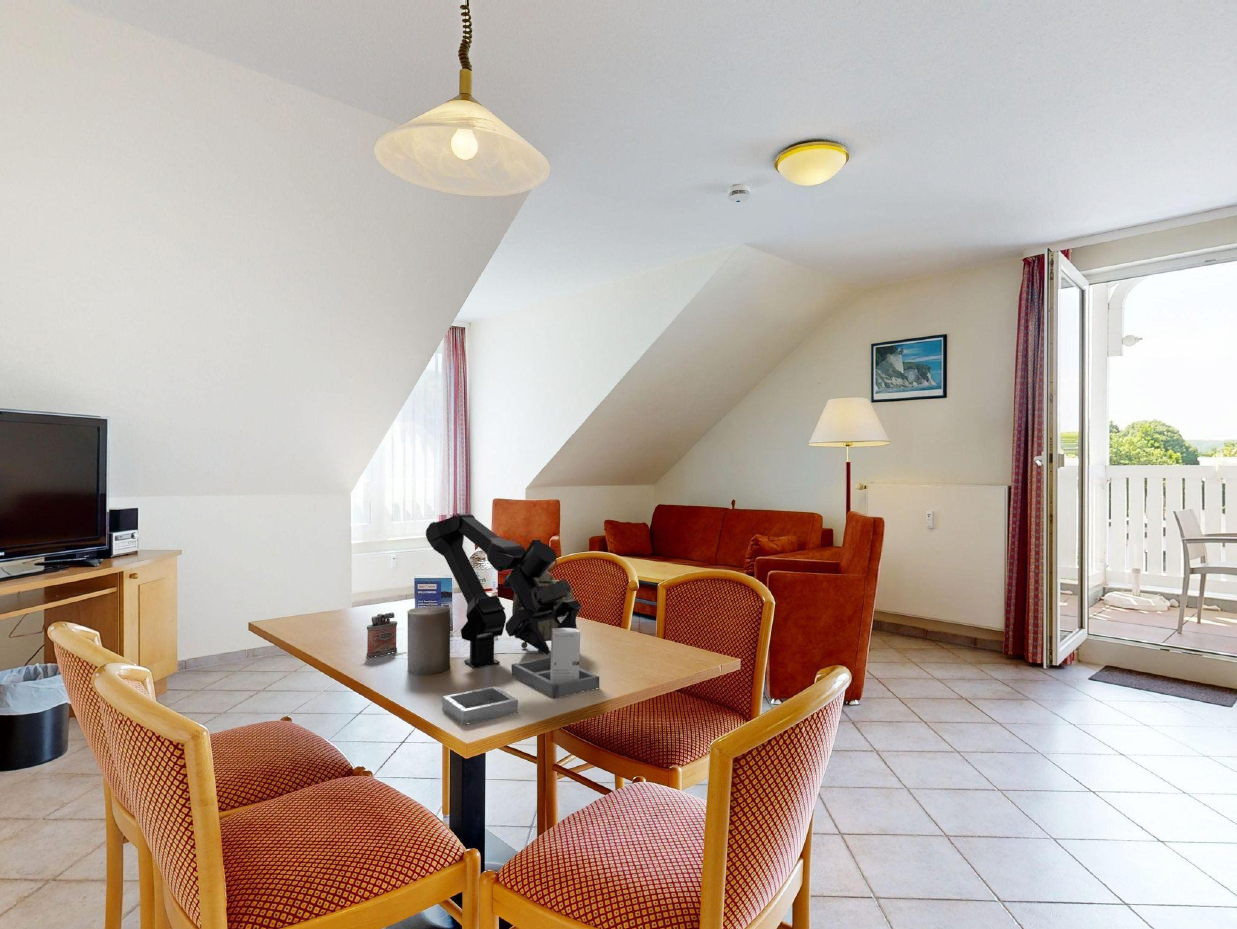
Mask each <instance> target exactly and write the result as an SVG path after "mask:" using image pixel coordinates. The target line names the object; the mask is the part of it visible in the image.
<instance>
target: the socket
mask: <svg viewBox="0 0 1237 929" xmlns="http://www.w3.org/2000/svg"><path fill="white" fill-rule="evenodd" d="M490 702H493V703H490ZM484 703H485V704H484ZM486 703H487V704H486ZM441 704H442V709H441V710H442V711H444V712H445V713H446V714H448V715H449V716H451V717H452V718H453V719H454V720H456V721H457V722H458V723H459V722H460V724H461V723H462V724H461V725H462V726H465V725H464V724H467V723H471V724H475V722H476V723H479V722H485V721H490V720H494V719H498V718H502V716H503V717H506V716H511V715H510V714H512V715H515V714H514V713H516V714H518V713H519V700H518V699H517V698H516V697H514V696H512V695H510V694H509V693H508V692H506V691H504V690H502V689H501V688H499V687H497V686H495V685H494V686H489V687H484V688H479V689H474V690H473V689H472V690H469V691H464V692H458V693H454V694H447V695H444V696H442V703H441ZM480 704H482V705H480ZM475 705H478V706H475ZM470 706H473V707H470ZM466 707H467V708H466ZM468 707H469V708H468ZM497 717H498V718H497ZM484 720H485V721H484ZM467 725H468V724H467Z"/></svg>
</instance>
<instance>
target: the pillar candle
mask: <svg viewBox="0 0 1237 929" xmlns="http://www.w3.org/2000/svg"><path fill="white" fill-rule="evenodd" d="M450 668H451V609H450V607H448V606H444V605H431V604H428V606H419V607H414V608H411V609H409V610H407V670H408V672H409V673H411V674H414V675H431V674H437V673H443V672H445V671H448V670H450Z"/></svg>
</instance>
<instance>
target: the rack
mask: <svg viewBox="0 0 1237 929" xmlns="http://www.w3.org/2000/svg"><path fill="white" fill-rule="evenodd" d="M511 676H512V677H514V678H516V679H518V680H519V679H520V681H521V682H524V683H525V684H527V685H529V686H531V687H532V688H535V689H536V688H537V690H538V691H540V692H541V693H544V694H545V695H547V696H550V697H551V698H553V699H556V698H557V699H558V698H562V697H566V695H567V696H571V695H575V694H574V693H576V694H581V693H583V692H582V691H586V692H588V691H587V690H590V691H593V690H592V689H595V690H597V689H596V688H599V689H600V676H599V675H597V674H594V673H592V672H591V671H587V670H585V669H583V668H581V667H579V679H577V680H572V681H567V682H562V683H557V684H556V683H554V682H552V681H550V677H551V656H550V657H545V658H539V659H534V660H532V659H531V660H528V661H522V662H517V663H516V662H515V663H512V664H511ZM580 692H581V693H580ZM561 696H562V697H561Z"/></svg>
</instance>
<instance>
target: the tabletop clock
mask: <svg viewBox="0 0 1237 929" xmlns="http://www.w3.org/2000/svg"><path fill="white" fill-rule="evenodd" d="M557 565H558V561H557V559H556V560H555V561H554V565H551V566H550V568H549V569H548V570H547V571H546V573H545V574H544V575H543V576H542V577H540V578H536V579H537V580H538V582H539V584H540V585H541V586H544V585H545V586H548V585H550V584H554V583H556V582H557V581H559V580H560V579H559V580H558V579H554V576H553V574H552V573H551V572H550V570H552V569H553V570H554V568H555V567H557ZM569 585H570V588H571V591H570V592H569V593H568V596H567V597H563V598H561V599H559V600H557V601H558V602H559V603H558V604H557V605H556V606H554V607H553V608H554V609H557V608H558V607H559V606H560V605H561V603H562V602H563V601H568V600H573V599H574V595H573V594H574V593H573V589H572V585H571V583H569ZM518 602H519V599H518V598H517V596H516V594H515V592H514V593H513V598H512V610H511V612H512V615H513V614H514V613H515V611H519V610H523V609H524V608H523V607H518V605H517V603H518ZM512 615H511V616H512ZM558 625H559V624H557V623H555V621H554V619H550V620H545V621H541V622H538V628H539V631H540V632H541V634H542V636H543V638H544V640H545V642H551V640H552V628H558ZM520 646H521V648H522V649H527V647H528V646H529V644H528V643H526V642H525V641H523V642H521V645H520ZM537 653H538V654H539V655H543V654H544V653H543V652H541V651H540V650H538V649H537Z"/></svg>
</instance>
